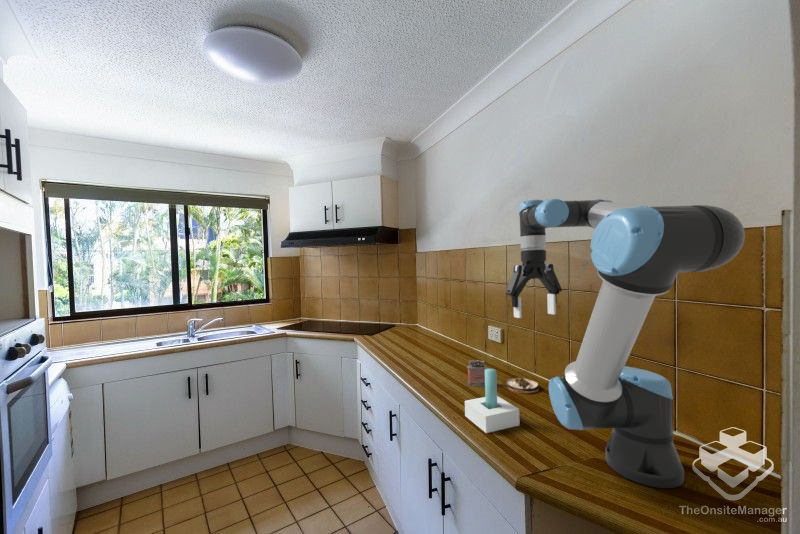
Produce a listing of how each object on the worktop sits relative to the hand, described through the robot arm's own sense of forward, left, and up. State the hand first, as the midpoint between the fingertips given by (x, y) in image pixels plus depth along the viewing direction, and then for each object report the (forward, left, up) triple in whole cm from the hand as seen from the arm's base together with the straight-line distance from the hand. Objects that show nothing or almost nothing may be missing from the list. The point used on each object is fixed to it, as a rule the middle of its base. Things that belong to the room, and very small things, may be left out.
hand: (535, 315), depth 106 cm
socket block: (+4, +15, -33) cm, 36 cm away
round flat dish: (+22, -12, -33) cm, 42 cm away
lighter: (+32, +2, -33) cm, 46 cm away
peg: (+4, +15, -33) cm, 36 cm away
